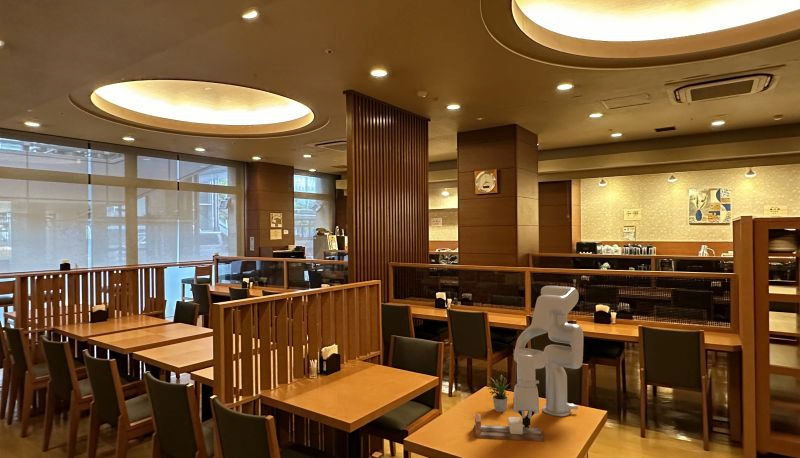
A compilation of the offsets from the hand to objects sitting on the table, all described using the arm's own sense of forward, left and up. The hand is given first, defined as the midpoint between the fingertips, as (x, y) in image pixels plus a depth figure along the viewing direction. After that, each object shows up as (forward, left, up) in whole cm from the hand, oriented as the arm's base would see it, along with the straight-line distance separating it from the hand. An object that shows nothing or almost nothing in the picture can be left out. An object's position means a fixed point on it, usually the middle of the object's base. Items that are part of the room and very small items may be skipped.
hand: (526, 426), depth 191 cm
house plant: (+9, -28, -4) cm, 30 cm away
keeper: (+4, 0, -2) cm, 5 cm away
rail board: (+8, 0, -4) cm, 8 cm away
